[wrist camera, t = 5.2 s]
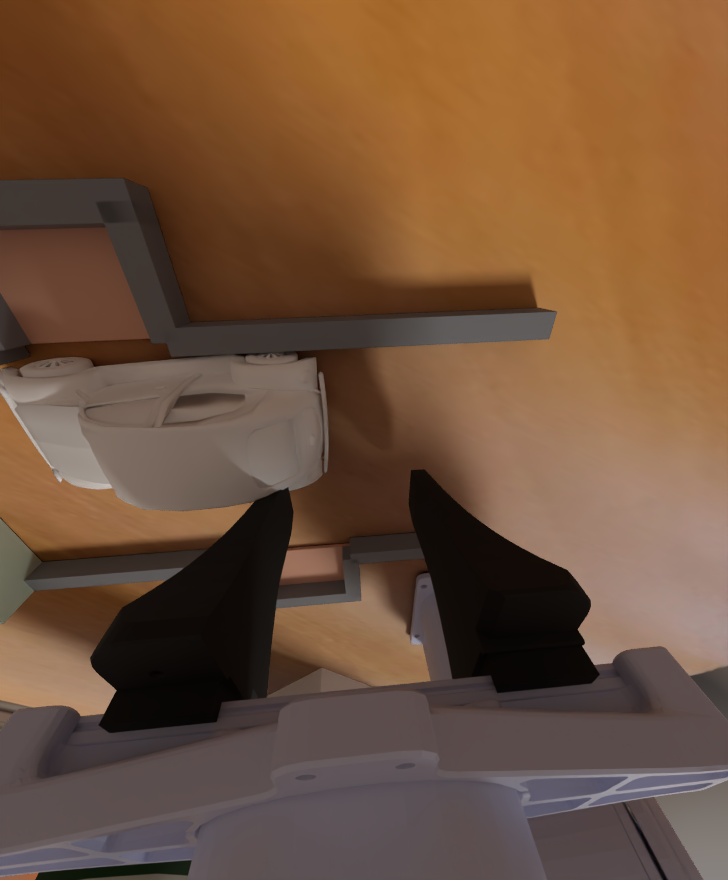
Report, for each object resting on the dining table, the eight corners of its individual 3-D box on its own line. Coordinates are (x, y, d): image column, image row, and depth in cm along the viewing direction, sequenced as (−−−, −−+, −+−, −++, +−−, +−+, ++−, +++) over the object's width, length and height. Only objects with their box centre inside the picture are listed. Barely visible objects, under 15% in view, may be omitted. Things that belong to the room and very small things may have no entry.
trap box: (468, 574, 21) (486, 617, 19) (70, 609, 20) (31, 660, 17) (571, 179, 10) (653, 148, 7) (-345, 197, 8) (-641, 167, 6)
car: (326, 345, 12) (320, 385, 8) (331, 465, 15) (328, 536, 11) (15, 342, 11) (-164, 383, 7) (89, 470, 14) (-7, 549, 10)
